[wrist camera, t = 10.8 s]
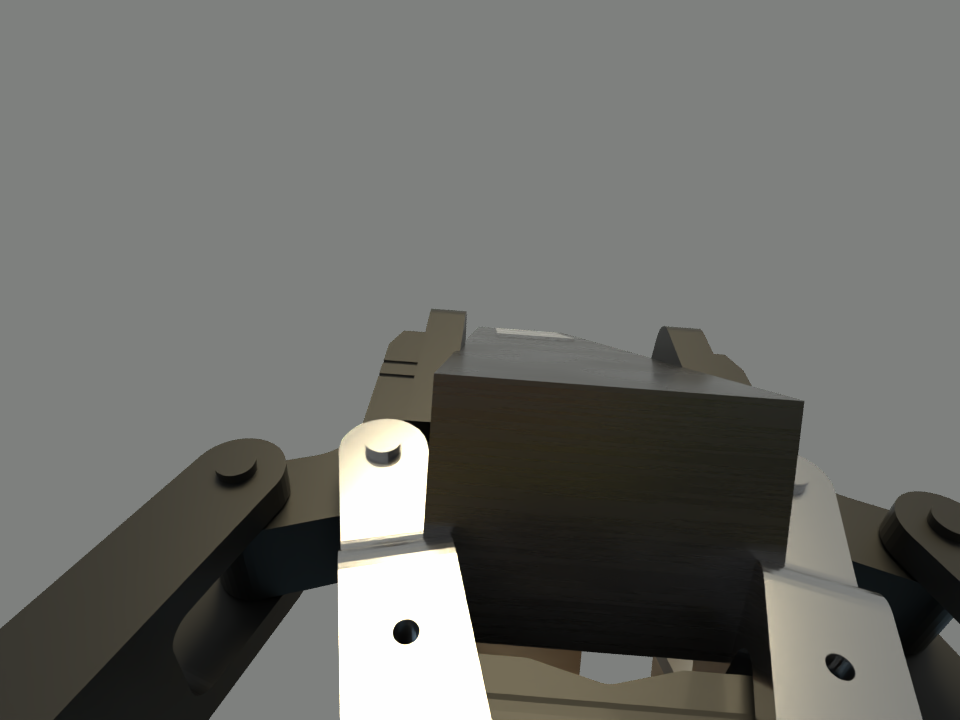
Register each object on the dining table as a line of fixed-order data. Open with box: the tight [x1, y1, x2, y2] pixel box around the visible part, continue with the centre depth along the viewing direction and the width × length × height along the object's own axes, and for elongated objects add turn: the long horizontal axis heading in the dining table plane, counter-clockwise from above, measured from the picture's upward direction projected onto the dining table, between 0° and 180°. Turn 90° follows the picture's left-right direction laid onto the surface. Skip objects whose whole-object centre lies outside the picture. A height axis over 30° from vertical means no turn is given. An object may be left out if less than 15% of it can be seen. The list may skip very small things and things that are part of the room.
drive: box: [423, 327, 804, 663], centre depth 17 cm, size 4×22×3 cm, turn 179°
